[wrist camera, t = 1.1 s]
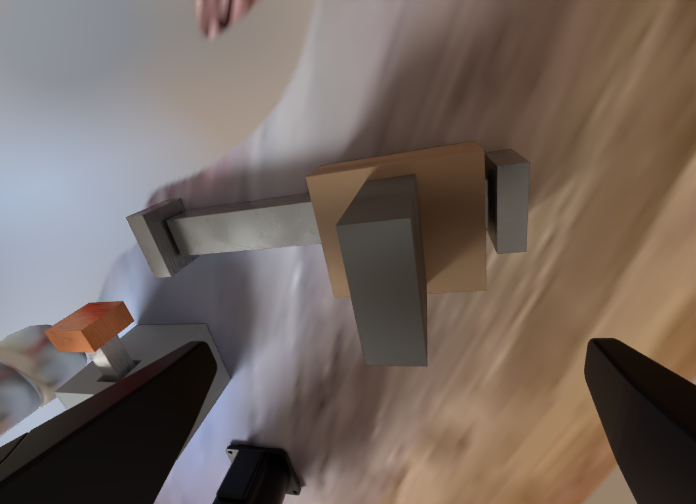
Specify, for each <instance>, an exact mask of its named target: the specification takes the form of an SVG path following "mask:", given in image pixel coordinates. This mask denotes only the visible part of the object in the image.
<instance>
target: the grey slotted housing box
mask: <svg viewBox="0 0 696 504" xmlns="http://www.w3.org/2000/svg"><path fill="white" fill-rule="evenodd" d="M120 340H121V342H122V343H123V345H124V347H125V349H126V350H127V352H128V354H129V355H130V357H131V359H132V360H133V362H134V364H135V365H136V367H135V368H133V369H132V370H131V371H130V372H129V373H128V374H127V375H126V376H125V377H127V376H129V375H131V374H133V373H134V372H136V371H138V370H140V369H141V368H143V367H145V366H147V365H149V364H150V363H152V362H154V361H156V360H158V359H159V358H161V357H163V356H165V355H167V354H168V353H170V352H172V351H174V350H176V349H177V348H179V347H181V346H183V345H184V344H186V343H188V342H190V341H206V342H207V343H208V344H209V346H210V349H211V351H212V353H213V355H214V357H215V359H216V362H217V366H218V368H217V373H216V375H215V378H214V380H213V383H212V385H211V387H210V390H209V392H208V394H207V397H206V399H205V401H204V404H203V406H202V408H201V411H200V413H199V416H198V418H197V420H196V422H195V425H194V427H193V429H192V431H191V433H190V435H189V437H188V439H187V441H186V443H185V444H184V446H183V448H182V450H181V452H180V454H179V456H180V455H181V453H182V452H183V450H184V449H185V447H186V446H187V444H188V443H189V441H190V440H191V438H192V437H193V435H194V434H195V432H196V431H197V429H198V428H199V426H200V425H201V423H202V422H203V420H204V419H205V417H206V416H207V415H208V413H209V412H210V410H211V409H212V407H213V406H214V404H215V403H216V401H217V400H218V398H219V397H220V395H221V394H222V392H223V391H224V389H225V388H226V386H227V385H228V383H229V382H230V380H231V379H230V376H229V374H228V372H227V370H226V367H225V365H224V363H223V361H222V359H221V356H220V354H219V352H218V350H217V347H216V345H215V343H214V341H213V338H212V336H211V334H210V332H209V329H208V327H207V325H206V324H168V325H136V326H135V327H134V328H132V329H131V330H130V331H129V332H127V333H126V334H125V335H124V336H123V337H121V338H120ZM125 377H124V378H125ZM124 378H123V379H124ZM115 383H116V382H107V381H106V380H105V378H104V377H103V375H102V374H101V372H100V371H99V369H98V367H97V366H96V364H95V363H94V361H92V362H91V363H89V364H88V365H87V366H86V367H84V368H83V369H82V370H81V371H79V372H78V373H77V374H76V375H74V376H73V377H72V378H71V379H70V380H68V381H67V382H66V383H65V384H63V385H62V386H61V387H60V388H58V389H57V390H56V391H55V392H54V393H55V395H56V396H57V397H58V399H59V400H60V401H61V403H62V404H63V405H64V406H65V408H66V409H67V410H68V409H70V408H72V407H73V406H75V405H77V404H79V403H81V402H82V401H84V400H86V399H88V398H90V397H91V396H93V395H95V394H97V393H98V392H100V391H102V390H104V389H106V388H107V387H109V386H111V385H113V384H115ZM179 456H178V458H179ZM178 458H177V459H178Z"/></svg>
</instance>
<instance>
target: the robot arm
mask: <svg viewBox="0 0 696 504" xmlns="http://www.w3.org/2000/svg"><path fill="white" fill-rule="evenodd" d="M217 368H218V366H217V362H216V359H215V357H214V355H213V353H212V351H211V349H210V346H209V344H208V343H207V342H206V341H190V342H188V343H186V344H184V345H183V346H181V347H179V348H177V349H176V350H174V351H172V352H170V353H168V354H167V355H165V356H163V357H161V358H159V359H158V360H156V361H154V362H152V363H150V364H149V365H147V366H145V367H143V368H141V369H140V370H138V371H136V372H134V373H133V374H131V375H129V376H127V377H125V378H124V379H122V380H120V381H118V382H116V383H115V384H113V385H111V386H109V387H107V388H106V389H104V390H102V391H100V392H98V393H97V394H95V395H93V396H91V397H90V398H88V399H86V400H84V401H82V402H81V403H79V404H77V405H75V406H73V407H72V408H70V409H68V410H66V411H64V412H63V413H61V414H59V415H57V416H56V417H54V418H52V419H50V420H48V421H47V422H45V423H43V424H41V425H39V426H38V427H36V428H34V429H32V430H31V431H30V432H29V433H25V434H23V435H22V436H20V437H18V438H16V439H14V440H13V441H11V442H9V443H7V444H5V445H3V446H2V447H0V504H153V503H154V501H155V499H156V498H157V496H158V494H159V492H160V490H161V488H162V486H163V484H164V482H165V480H166V479H167V477H168V475H169V473H170V471H171V469H172V467H173V465H174V463H175V462H176V460H177V458H178V456H179V454H180V452H181V450H182V448H183V446H184V444H185V443H186V441H187V439H188V437H189V435H190V433H191V431H192V429H193V427H194V425H195V422H196V420H197V418H198V416H199V413H200V411H201V408H202V406H203V404H204V401H205V399H206V397H207V394H208V392H209V390H210V387H211V385H212V383H213V380H214V378H215V375H216V373H217ZM584 374H585V379H586V383H587V385H588V388H589V391H590V393H591V396H592V399H593V401H594V404H595V407H596V409H597V412H598V415H599V417H600V420H601V422H602V425H603V428H604V430H605V433H606V436H607V438H608V441H609V444H610V446H611V449H612V451H613V454H614V456H615V459H616V461H617V463H618V465H619V468H620V470H621V472H622V474H623V476H624V478H625V480H626V482H627V484H628V486H629V488H630V490H631V492H632V494H633V496H634V498H635V500H636V502H637V504H696V385H695V384H693V383H691V382H690V381H688V380H686V379H685V378H683V377H681V376H679V375H678V374H676V373H674V372H672V371H671V370H669V369H667V368H666V367H664V366H662V365H660V364H659V363H657V362H655V361H654V360H652V359H650V358H648V357H647V356H645V355H643V354H642V353H640V352H638V351H636V350H635V349H633V348H631V347H630V346H628V345H626V344H624V343H623V342H621V341H619V340H617V339H614V338H592V339H591V340H589V342H588V345H587V353H586V360H585V367H584ZM226 453H227V455H228V457H229V459H230V461H231V463H232V464H231V466H230V468H229V470H228V472H227V474H226V476H225V478H224V480H223V481H222V483H221V485H220V487H219V489H218V491H217V494H216V495H217V496H216V498H215V500H214V502H213V503H212V504H282V503H283V500H284V497H285V494H291V495H299V494H300V491H301V488H300V485H299V483H298V480H297V478H296V475H295V473H294V470H293V468H292V465H291V463H290V460H289V458H288V455H287V453H286V452H285V451H283V450H276V449H266V448H255V447H245V446H234V445H229V446H228V447H227V449H226Z"/></svg>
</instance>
